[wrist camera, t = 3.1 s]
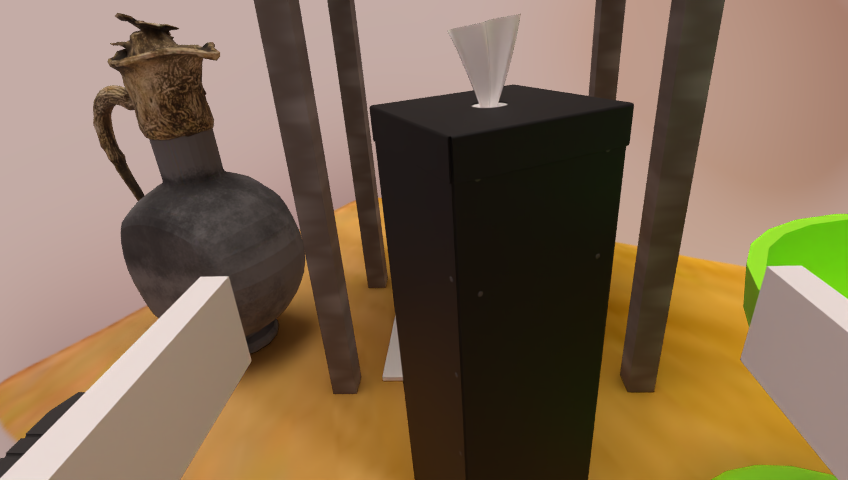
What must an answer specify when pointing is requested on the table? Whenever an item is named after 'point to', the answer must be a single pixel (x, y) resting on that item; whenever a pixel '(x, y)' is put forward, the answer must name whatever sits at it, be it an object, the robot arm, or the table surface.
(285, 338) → the table surface
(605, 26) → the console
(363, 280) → the table surface
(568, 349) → the tissue box
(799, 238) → the wineglass
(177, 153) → the pitcher
